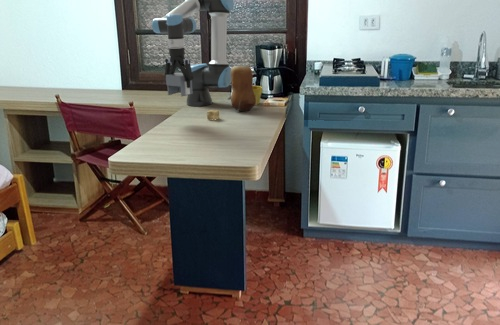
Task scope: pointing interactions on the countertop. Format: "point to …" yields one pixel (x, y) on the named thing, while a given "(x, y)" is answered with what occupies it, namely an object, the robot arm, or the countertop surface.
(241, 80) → the butternut squash
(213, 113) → the ochre block
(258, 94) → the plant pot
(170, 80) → the grey mini stool
